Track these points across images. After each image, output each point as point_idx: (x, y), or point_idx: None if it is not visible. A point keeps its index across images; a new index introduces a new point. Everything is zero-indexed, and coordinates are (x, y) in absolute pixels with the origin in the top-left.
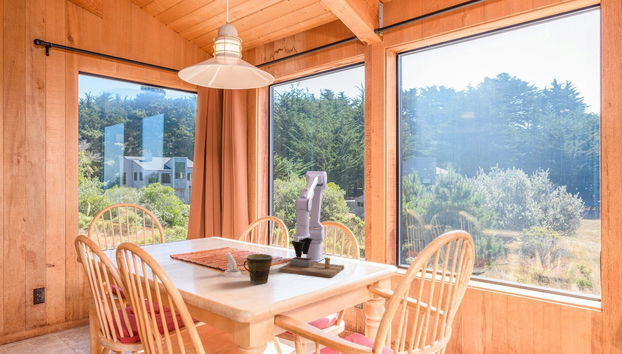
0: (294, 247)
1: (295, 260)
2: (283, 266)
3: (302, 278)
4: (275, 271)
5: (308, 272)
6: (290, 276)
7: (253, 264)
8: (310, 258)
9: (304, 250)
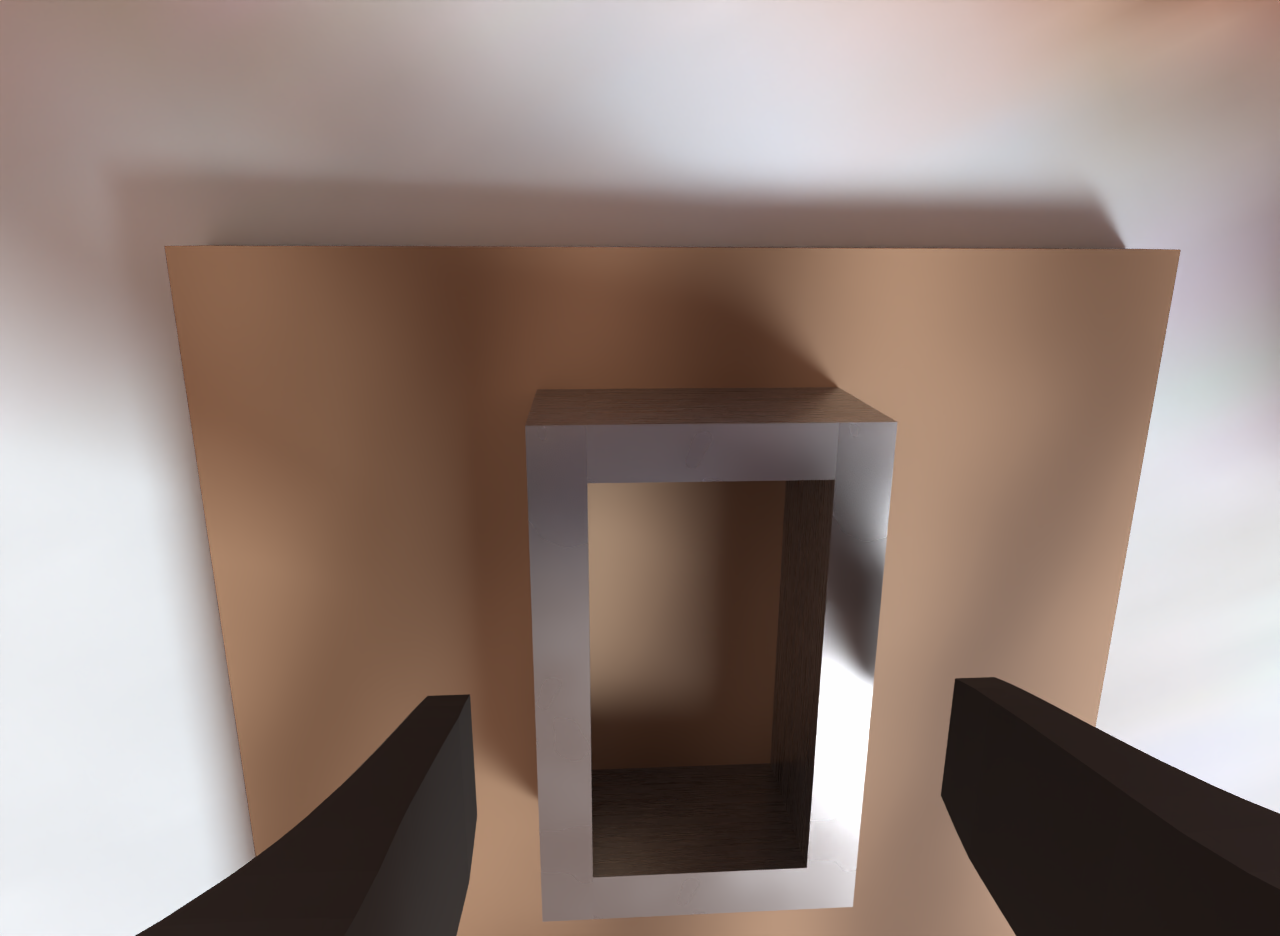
0: (203, 917)
1: (534, 576)
2: (393, 272)
3: (23, 856)
4: (184, 160)
5: None
6: (7, 630)
7: None
8: (853, 838)
9: (1011, 796)
